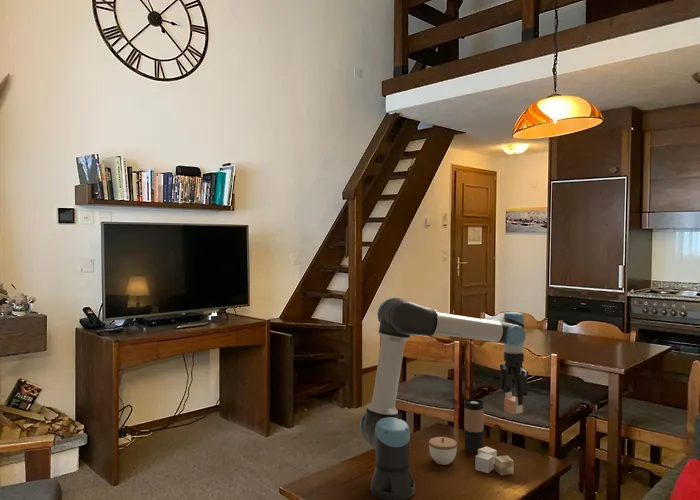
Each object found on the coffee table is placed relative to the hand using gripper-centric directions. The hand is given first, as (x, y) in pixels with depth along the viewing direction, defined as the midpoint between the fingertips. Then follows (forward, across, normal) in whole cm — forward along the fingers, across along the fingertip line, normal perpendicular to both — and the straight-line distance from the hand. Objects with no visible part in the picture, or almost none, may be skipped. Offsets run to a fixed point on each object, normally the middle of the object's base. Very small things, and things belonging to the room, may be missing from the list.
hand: (513, 410), depth 215 cm
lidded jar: (+19, +9, +27) cm, 34 cm away
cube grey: (+19, -4, +17) cm, 26 cm away
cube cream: (+19, +1, +12) cm, 22 cm away
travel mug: (+19, +13, +9) cm, 25 cm away
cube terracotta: (0, 0, 0) cm, 0 cm away
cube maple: (+19, -8, +12) cm, 24 cm away
